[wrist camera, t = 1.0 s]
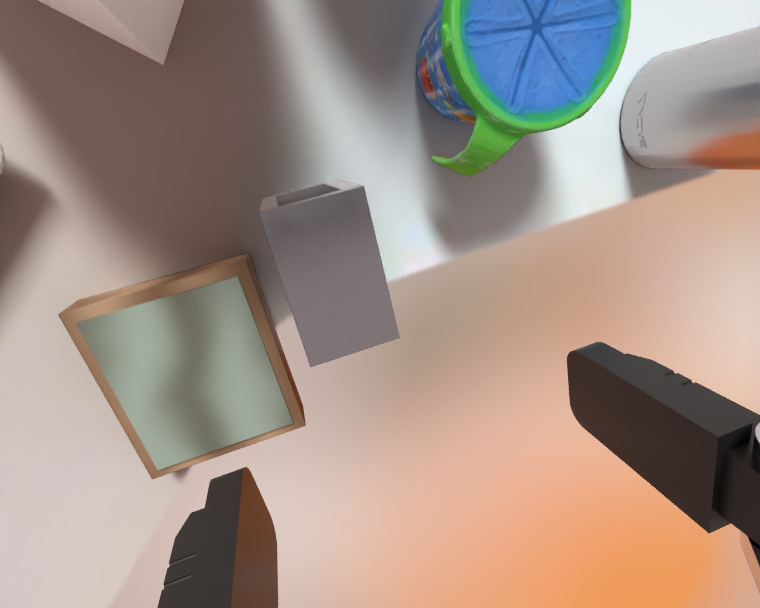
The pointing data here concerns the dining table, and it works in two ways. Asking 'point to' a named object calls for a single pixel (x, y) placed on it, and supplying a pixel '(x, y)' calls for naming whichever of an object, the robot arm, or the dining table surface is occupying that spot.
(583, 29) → the snack cup
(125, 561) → the dining table surface
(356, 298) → the housing
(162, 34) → the milk
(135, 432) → the wooden tray
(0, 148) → the square plate
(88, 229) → the dining table surface
